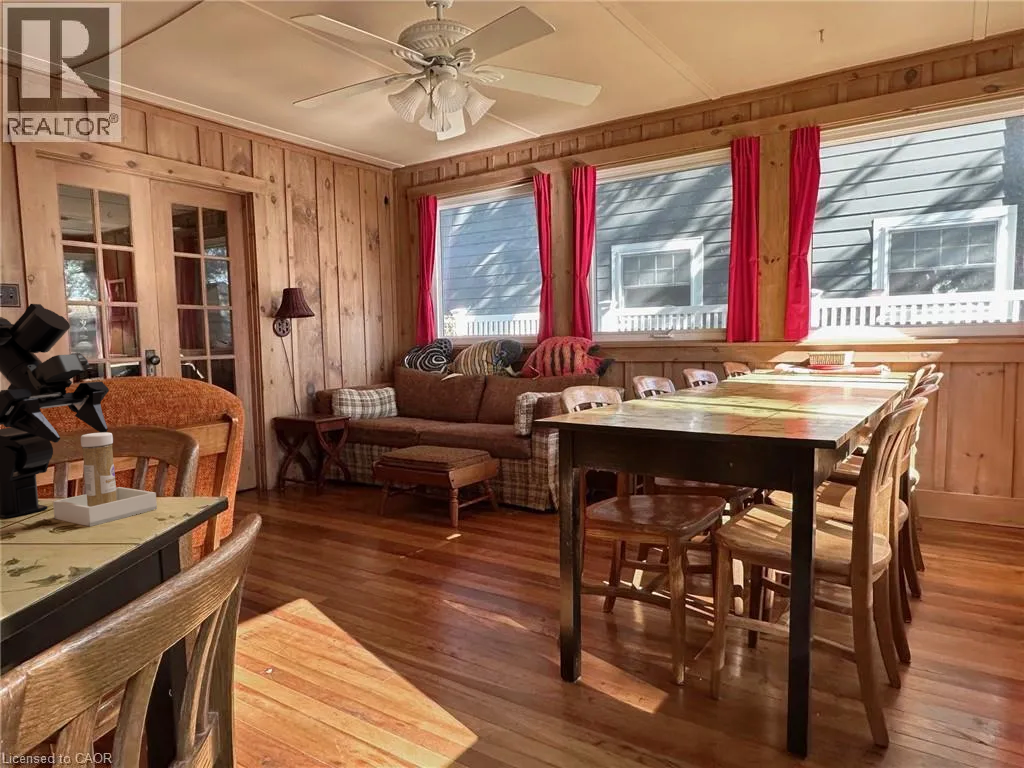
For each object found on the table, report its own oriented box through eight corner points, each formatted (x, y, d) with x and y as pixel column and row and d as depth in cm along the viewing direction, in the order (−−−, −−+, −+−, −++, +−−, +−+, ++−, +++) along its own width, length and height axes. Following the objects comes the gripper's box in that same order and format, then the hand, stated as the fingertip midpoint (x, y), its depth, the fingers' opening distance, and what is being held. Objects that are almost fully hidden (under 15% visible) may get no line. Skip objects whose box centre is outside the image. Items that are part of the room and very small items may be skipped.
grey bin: (54, 518, 107) (53, 501, 107) (120, 503, 117) (119, 486, 117) (90, 526, 102) (88, 508, 102) (156, 509, 112) (155, 492, 111)
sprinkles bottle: (118, 511, 108) (112, 433, 107) (86, 516, 106) (80, 436, 105) (117, 506, 112) (111, 430, 111) (86, 511, 110) (80, 433, 109)
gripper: (-6, 339, 99) (57, 409, 98) (96, 337, 117) (151, 397, 116) (-41, 389, 102) (20, 459, 100) (65, 380, 120) (118, 439, 118)
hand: (82, 436), depth 108 cm, fingers open, 9 cm apart
